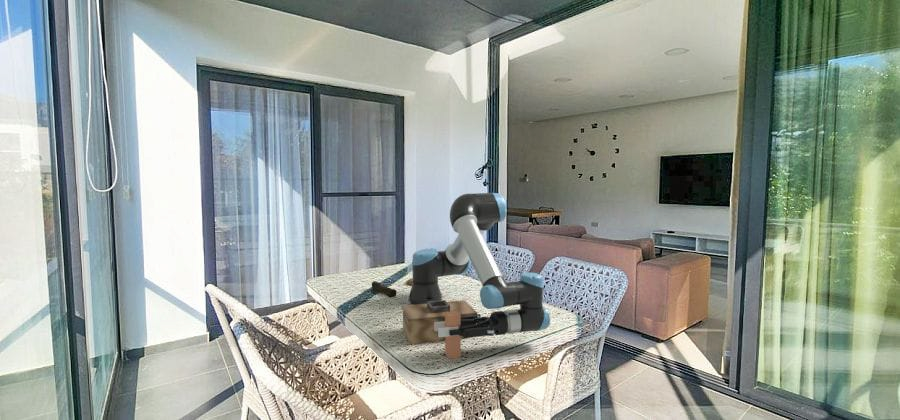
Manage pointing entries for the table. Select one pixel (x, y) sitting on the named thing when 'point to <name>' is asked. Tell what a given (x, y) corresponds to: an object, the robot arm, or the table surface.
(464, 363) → the table surface
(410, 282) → the cookie
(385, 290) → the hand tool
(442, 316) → the wooden socket base
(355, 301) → the table surface
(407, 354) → the table surface
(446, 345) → the wooden peg
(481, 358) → the table surface
